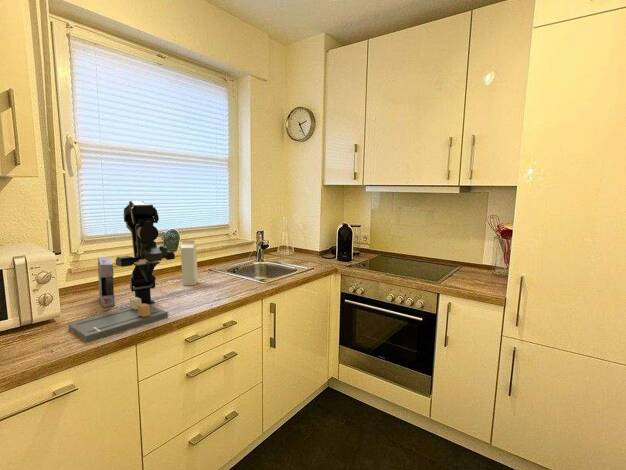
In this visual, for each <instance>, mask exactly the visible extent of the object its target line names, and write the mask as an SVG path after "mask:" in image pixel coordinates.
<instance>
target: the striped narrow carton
mask: <svg viewBox="0 0 626 470" xmlns="http://www.w3.org/2000/svg"><path fill="white" fill-rule="evenodd" d="M97 274H98V292H99V294H98V296H99V300H100V304H101V307H102V308H110V307H114V306H115V305H116V303H115V293H114V292H115V291H114V289H115V288H114V287H115V286H114V264H113V262H112V261H111V257H110V256H102V257H101V256H100V257H97Z"/></svg>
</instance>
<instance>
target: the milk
mask: <svg viewBox="0 0 626 470" xmlns="http://www.w3.org/2000/svg"><path fill="white" fill-rule="evenodd" d="M181 242H182V243H181V246H180V261H181V277H182V278H181V282H182V286H195V285H196V284H198V283H199V280H198V279H199V277H198V276H199V275H198V259H197V258H198V257H197V255H198V254H197V244H195V243H196V242H195V240H181Z"/></svg>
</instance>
